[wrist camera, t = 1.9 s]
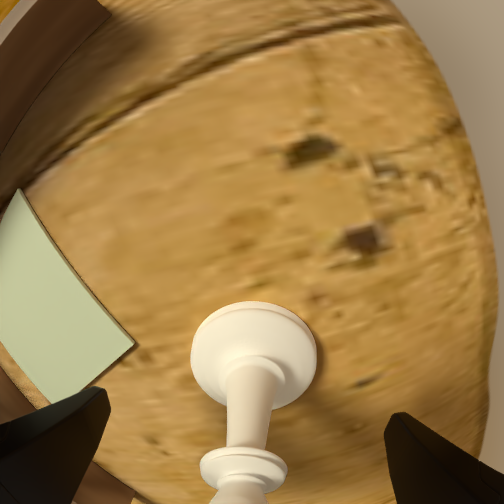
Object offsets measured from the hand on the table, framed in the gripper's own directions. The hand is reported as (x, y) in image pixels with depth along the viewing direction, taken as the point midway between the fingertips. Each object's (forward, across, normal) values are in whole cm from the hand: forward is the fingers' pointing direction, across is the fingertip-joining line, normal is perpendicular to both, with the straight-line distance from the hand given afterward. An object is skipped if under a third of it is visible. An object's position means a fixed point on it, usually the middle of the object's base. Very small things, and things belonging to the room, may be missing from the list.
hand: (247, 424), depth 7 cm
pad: (+4, +11, 0) cm, 12 cm away
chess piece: (+4, 0, 0) cm, 4 cm away
